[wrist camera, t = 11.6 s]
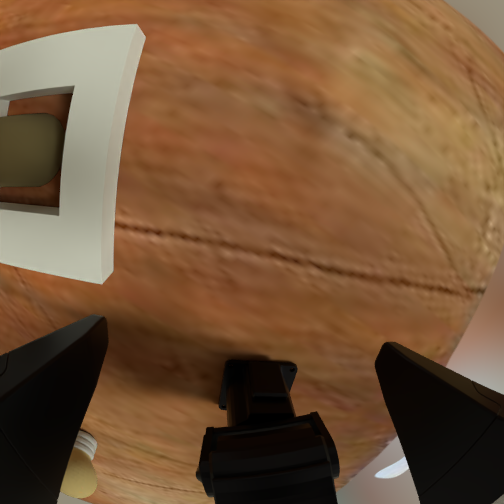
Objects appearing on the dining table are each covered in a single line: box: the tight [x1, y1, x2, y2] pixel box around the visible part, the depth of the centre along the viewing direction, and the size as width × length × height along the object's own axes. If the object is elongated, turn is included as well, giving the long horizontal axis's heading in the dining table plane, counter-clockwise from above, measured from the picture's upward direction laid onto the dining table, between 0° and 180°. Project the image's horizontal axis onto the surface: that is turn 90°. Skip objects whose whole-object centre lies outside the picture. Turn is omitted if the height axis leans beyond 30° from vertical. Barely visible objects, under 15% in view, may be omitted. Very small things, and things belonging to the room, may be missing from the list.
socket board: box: [0, 24, 146, 284], centre depth 15 cm, size 18×16×2 cm
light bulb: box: [60, 430, 97, 498], centre depth 22 cm, size 6×6×10 cm
